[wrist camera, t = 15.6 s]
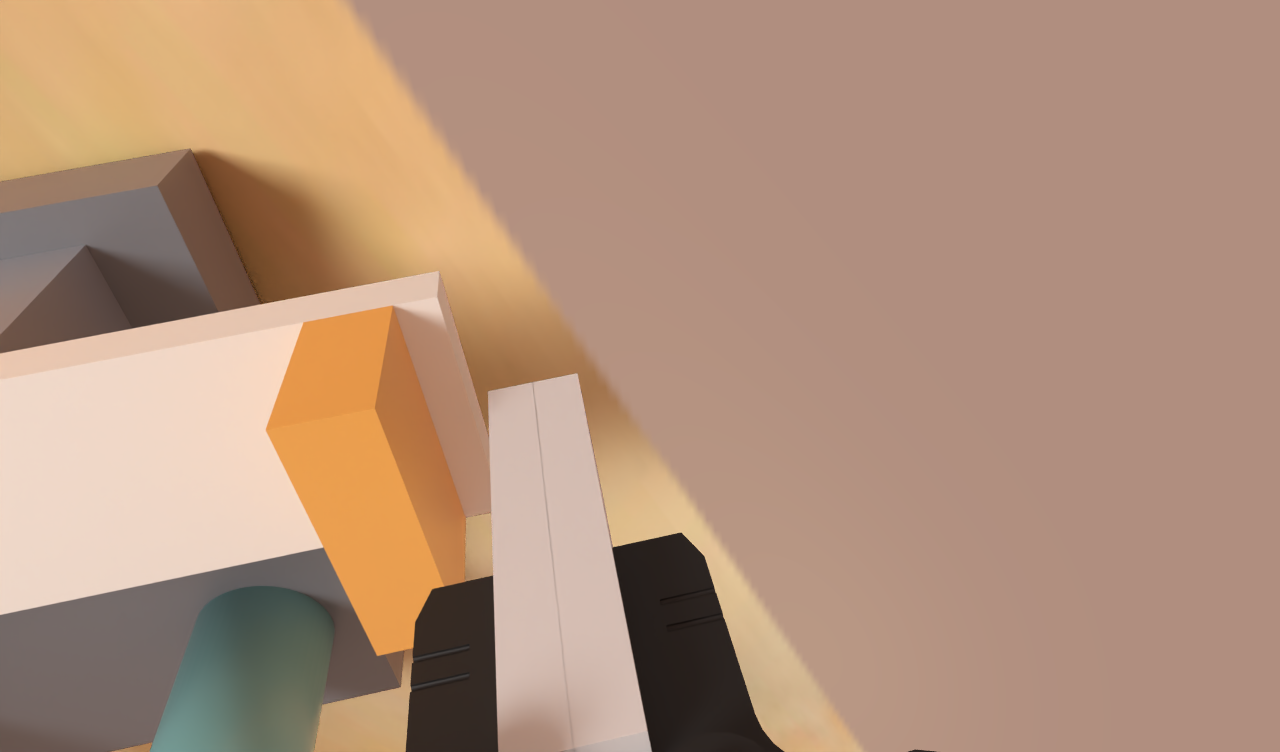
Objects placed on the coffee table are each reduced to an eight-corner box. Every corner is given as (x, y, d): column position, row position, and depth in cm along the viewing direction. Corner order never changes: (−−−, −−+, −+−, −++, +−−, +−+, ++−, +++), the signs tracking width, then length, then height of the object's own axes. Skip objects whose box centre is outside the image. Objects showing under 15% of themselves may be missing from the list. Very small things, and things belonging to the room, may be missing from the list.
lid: (-288, 640, 16) (-478, 842, 13) (-518, 450, 14) (-837, 648, 10) (500, 477, 17) (507, 627, 14) (439, 270, 15) (428, 398, 11)
